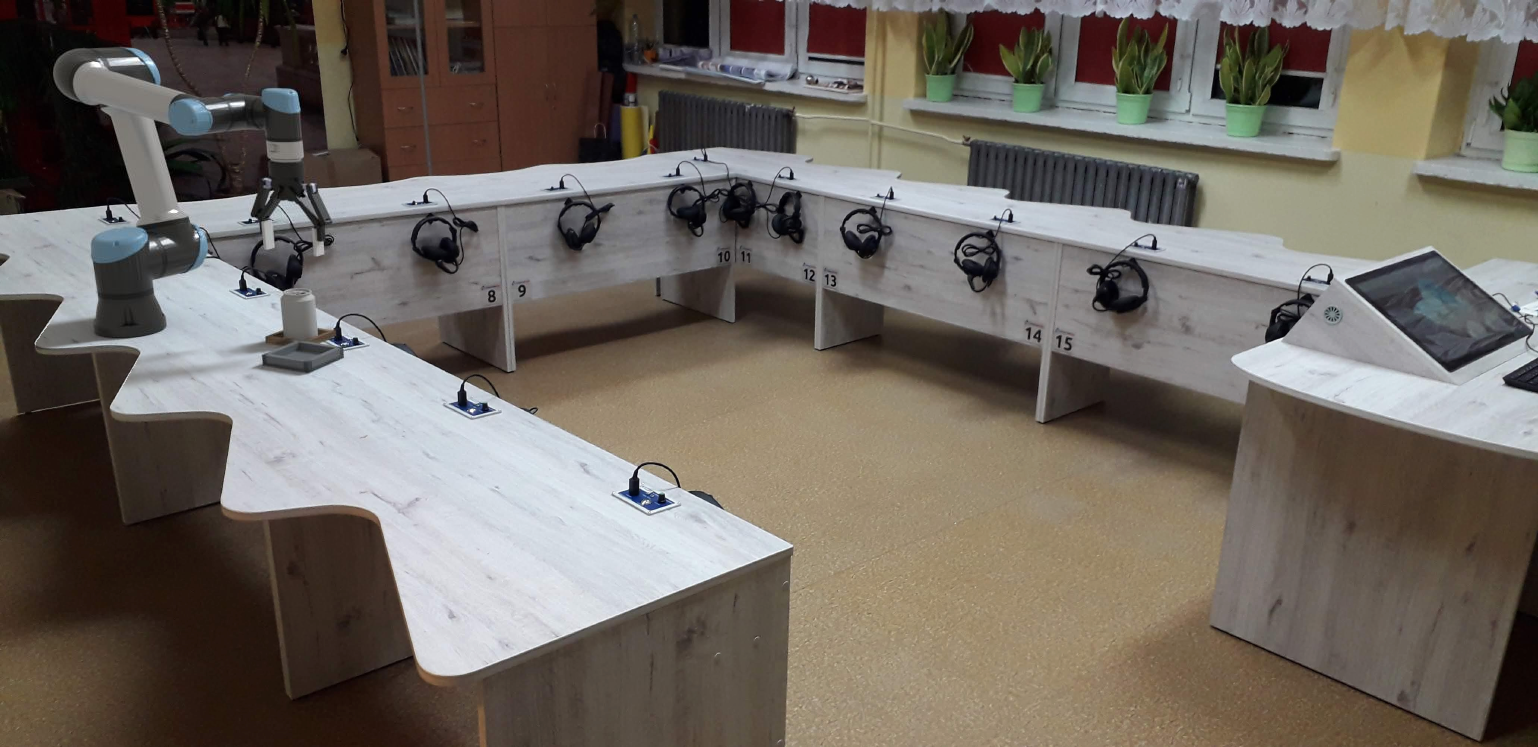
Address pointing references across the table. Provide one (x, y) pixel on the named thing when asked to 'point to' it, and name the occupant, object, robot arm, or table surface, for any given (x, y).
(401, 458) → the table surface
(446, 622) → the table surface
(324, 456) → the table surface
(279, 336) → the frame
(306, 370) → the tray
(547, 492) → the table surface
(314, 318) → the can
